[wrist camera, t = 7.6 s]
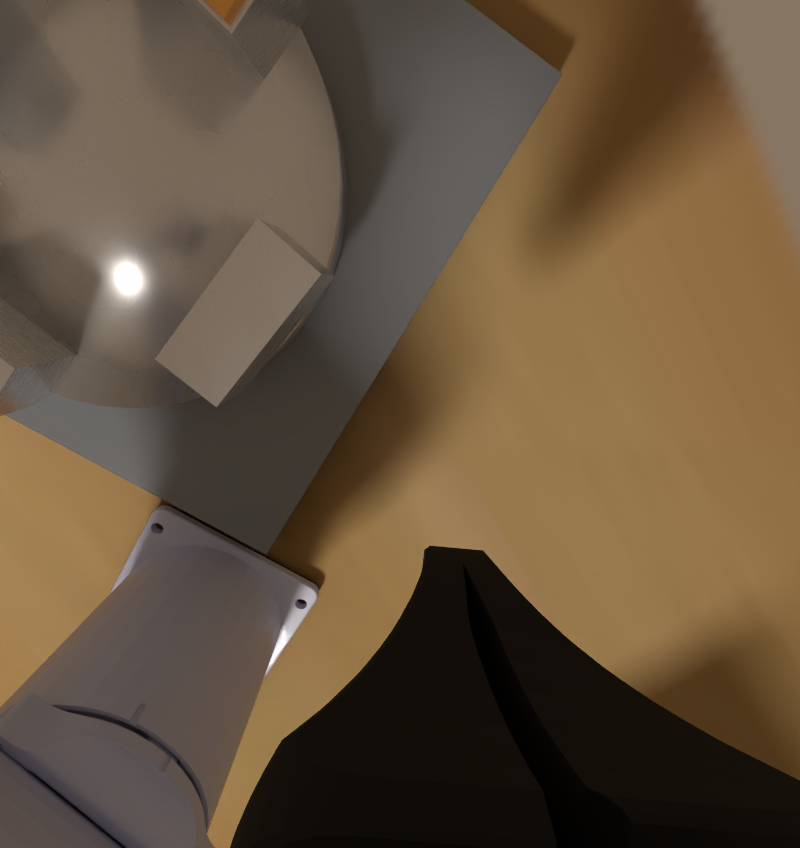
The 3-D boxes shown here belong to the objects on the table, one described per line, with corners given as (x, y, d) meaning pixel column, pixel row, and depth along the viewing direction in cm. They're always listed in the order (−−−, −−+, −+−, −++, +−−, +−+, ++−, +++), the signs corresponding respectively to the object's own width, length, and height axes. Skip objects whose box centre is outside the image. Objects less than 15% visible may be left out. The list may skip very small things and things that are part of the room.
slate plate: (275, 536, 21) (265, 557, 20) (-183, 287, 19) (-238, 287, 17) (549, 92, 16) (564, 71, 15) (-16, -330, 14) (-72, -411, 12)
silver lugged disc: (-144, 265, 17) (-351, 258, 12) (-13, -220, 13) (-237, -489, 8) (237, 472, 18) (183, 531, 14) (441, 98, 15) (456, 15, 10)
